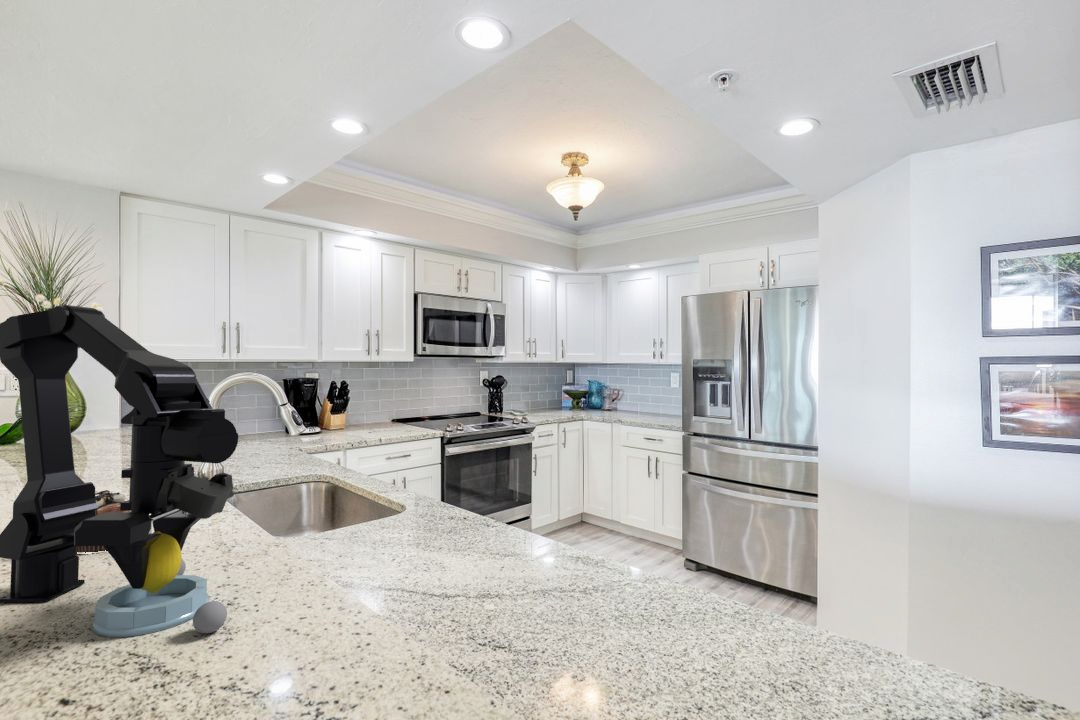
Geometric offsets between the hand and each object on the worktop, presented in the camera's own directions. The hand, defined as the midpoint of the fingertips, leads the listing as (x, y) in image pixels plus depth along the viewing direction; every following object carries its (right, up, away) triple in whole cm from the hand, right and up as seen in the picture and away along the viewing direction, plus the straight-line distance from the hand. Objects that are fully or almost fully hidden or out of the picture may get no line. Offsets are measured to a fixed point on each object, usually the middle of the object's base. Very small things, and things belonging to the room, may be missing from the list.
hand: (154, 579), depth 67 cm
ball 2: (+10, -4, -5) cm, 12 cm away
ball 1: (-5, -5, +11) cm, 13 cm away
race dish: (0, -4, 0) cm, 4 cm away
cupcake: (-29, -5, +26) cm, 39 cm away
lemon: (0, -2, 0) cm, 2 cm away
